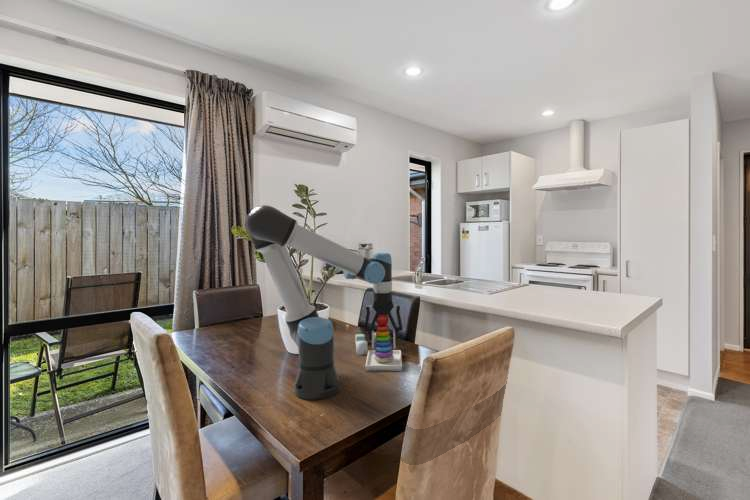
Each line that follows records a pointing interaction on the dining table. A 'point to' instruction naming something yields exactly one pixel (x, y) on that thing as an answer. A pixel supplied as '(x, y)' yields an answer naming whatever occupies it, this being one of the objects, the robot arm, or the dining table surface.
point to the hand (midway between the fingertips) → (383, 347)
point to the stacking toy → (383, 341)
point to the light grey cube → (361, 347)
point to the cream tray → (383, 366)
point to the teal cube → (359, 337)
